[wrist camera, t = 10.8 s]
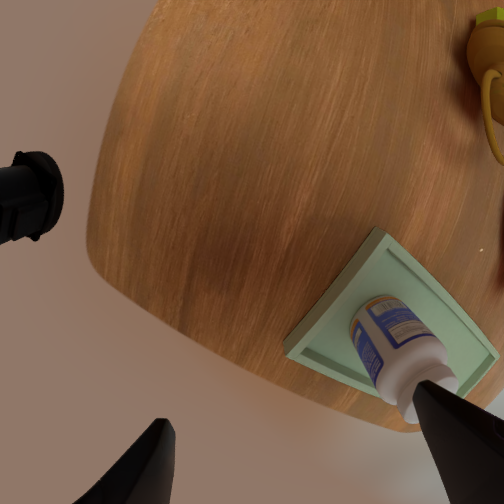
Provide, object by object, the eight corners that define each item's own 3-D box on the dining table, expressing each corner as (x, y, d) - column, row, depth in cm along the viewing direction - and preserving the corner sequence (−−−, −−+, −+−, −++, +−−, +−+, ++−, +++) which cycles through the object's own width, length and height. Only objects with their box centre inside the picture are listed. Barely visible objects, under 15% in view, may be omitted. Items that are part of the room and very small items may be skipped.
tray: (282, 341, 22) (285, 356, 20) (375, 225, 19) (387, 232, 17) (435, 410, 27) (441, 419, 25) (492, 347, 24) (500, 355, 22)
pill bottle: (376, 355, 22) (419, 435, 13) (334, 333, 21) (375, 426, 12) (415, 309, 21) (478, 379, 11) (378, 281, 20) (447, 357, 10)
